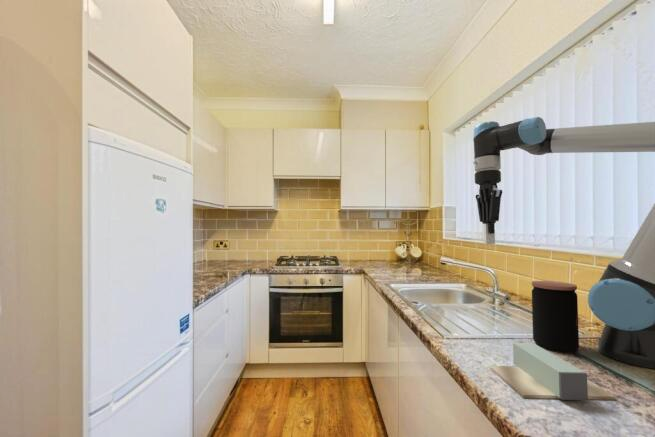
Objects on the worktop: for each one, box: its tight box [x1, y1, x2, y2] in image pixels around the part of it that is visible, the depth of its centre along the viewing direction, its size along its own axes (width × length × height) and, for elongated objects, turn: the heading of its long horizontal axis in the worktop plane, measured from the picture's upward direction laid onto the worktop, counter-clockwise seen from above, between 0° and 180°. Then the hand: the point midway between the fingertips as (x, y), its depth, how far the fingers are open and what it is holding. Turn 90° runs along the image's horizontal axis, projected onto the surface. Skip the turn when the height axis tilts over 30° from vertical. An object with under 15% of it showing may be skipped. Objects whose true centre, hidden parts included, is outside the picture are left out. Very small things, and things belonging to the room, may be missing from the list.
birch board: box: [489, 365, 617, 401], centre depth 67 cm, size 18×13×1 cm
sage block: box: [512, 342, 589, 401], centre depth 67 cm, size 5×5×16 cm
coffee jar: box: [531, 280, 580, 354], centre depth 88 cm, size 11×11×18 cm
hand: (489, 243), depth 97 cm, fingers closed
